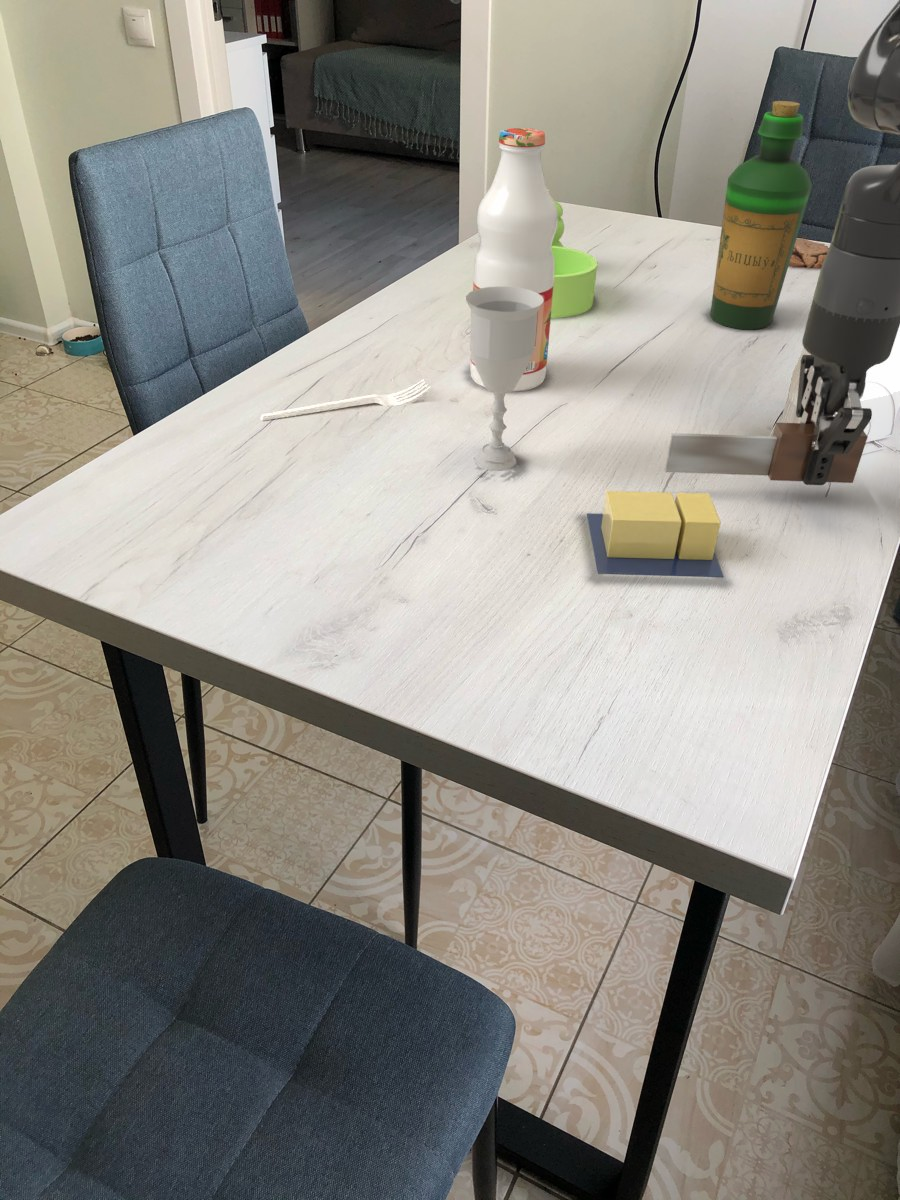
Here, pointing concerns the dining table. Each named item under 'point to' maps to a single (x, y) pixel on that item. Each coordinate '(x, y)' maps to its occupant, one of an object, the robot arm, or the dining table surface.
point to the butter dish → (647, 564)
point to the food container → (571, 276)
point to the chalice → (501, 355)
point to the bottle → (761, 224)
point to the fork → (355, 402)
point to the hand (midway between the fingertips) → (808, 474)
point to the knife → (758, 454)
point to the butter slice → (696, 526)
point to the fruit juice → (519, 237)
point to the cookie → (808, 254)
